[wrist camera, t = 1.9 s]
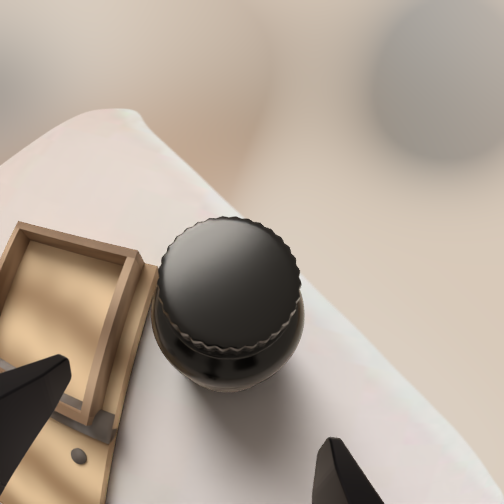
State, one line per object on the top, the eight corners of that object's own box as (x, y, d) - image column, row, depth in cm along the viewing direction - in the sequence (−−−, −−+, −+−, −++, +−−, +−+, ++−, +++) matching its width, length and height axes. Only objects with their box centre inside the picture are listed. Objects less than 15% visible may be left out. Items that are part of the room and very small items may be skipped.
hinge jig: (99, 551, 11) (84, 567, 9) (-29, 470, 12) (-50, 472, 9) (160, 272, 22) (151, 253, 19) (28, 237, 23) (11, 219, 20)
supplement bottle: (281, 388, 19) (346, 375, 9) (179, 394, 19) (121, 389, 8) (270, 294, 22) (312, 191, 12) (176, 298, 22) (133, 197, 11)
